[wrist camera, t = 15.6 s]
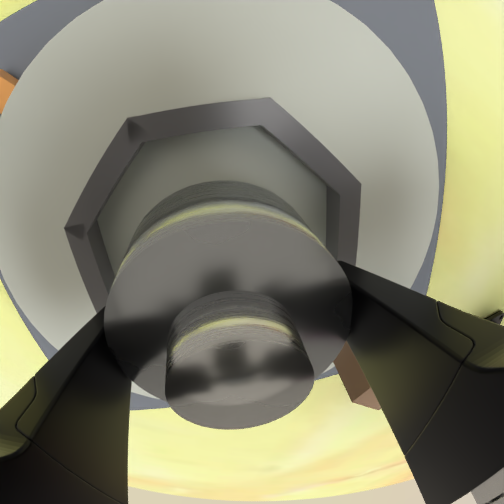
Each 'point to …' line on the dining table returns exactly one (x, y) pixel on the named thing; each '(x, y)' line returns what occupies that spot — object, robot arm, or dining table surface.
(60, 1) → the turntable base
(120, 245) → the turntable
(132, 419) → the dining table surface
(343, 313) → the flange hub
